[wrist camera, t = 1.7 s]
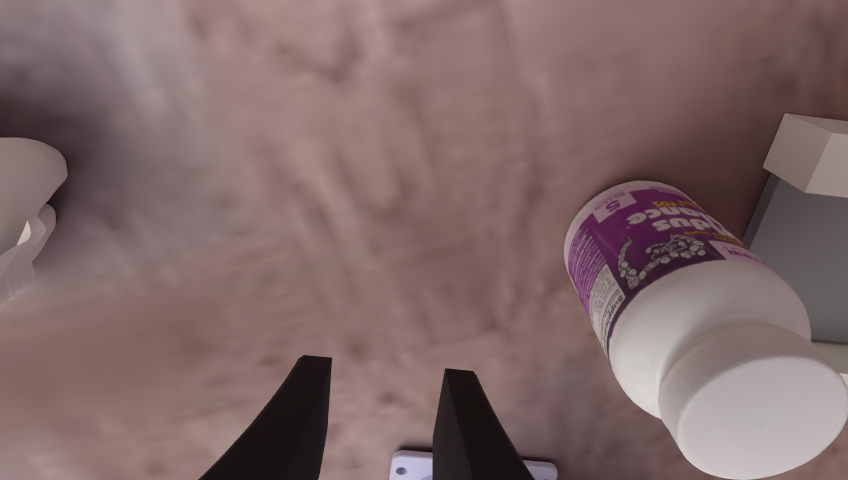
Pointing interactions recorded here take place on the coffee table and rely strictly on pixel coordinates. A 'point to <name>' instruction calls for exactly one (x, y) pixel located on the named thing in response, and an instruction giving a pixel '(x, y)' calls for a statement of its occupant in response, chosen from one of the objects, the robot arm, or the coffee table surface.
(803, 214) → the cradle
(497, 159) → the coffee table surface
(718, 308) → the pill bottle
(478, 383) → the robot arm
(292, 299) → the coffee table surface
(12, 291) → the elephant figurine
